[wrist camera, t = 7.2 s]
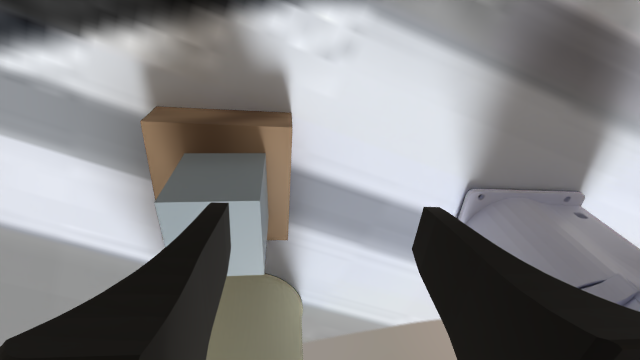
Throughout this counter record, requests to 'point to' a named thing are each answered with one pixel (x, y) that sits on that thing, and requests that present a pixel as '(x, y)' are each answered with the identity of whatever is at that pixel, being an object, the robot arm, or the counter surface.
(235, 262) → the block
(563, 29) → the counter surface
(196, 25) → the counter surface
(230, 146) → the slab
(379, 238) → the counter surface
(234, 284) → the can
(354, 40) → the counter surface
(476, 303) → the robot arm
